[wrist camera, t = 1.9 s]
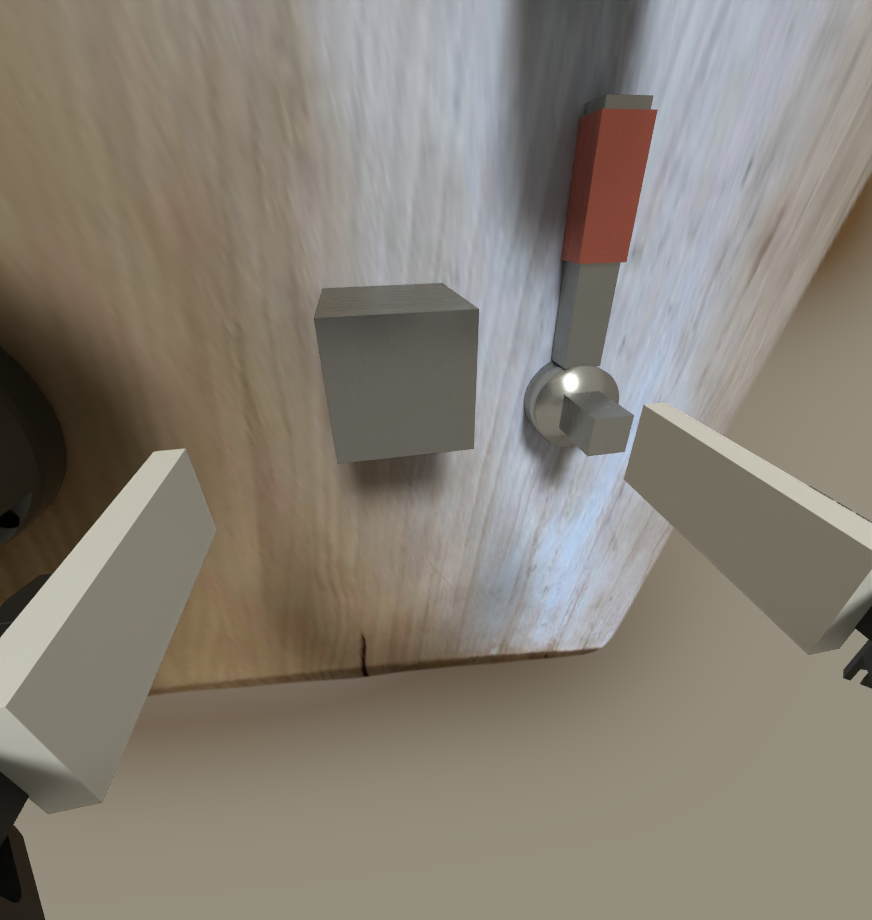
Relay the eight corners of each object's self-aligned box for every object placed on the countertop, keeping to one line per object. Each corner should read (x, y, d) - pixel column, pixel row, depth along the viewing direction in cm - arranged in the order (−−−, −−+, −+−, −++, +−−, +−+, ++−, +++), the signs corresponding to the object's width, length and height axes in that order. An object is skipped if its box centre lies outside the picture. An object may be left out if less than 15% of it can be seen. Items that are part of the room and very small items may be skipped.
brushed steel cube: (339, 402, 24) (337, 463, 18) (322, 288, 21) (313, 318, 15) (442, 393, 25) (473, 449, 19) (442, 283, 22) (479, 309, 16)
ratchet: (520, 435, 27) (557, 482, 23) (555, 103, 19) (628, 64, 14) (591, 427, 28) (642, 471, 23) (657, 105, 19) (760, 70, 15)
